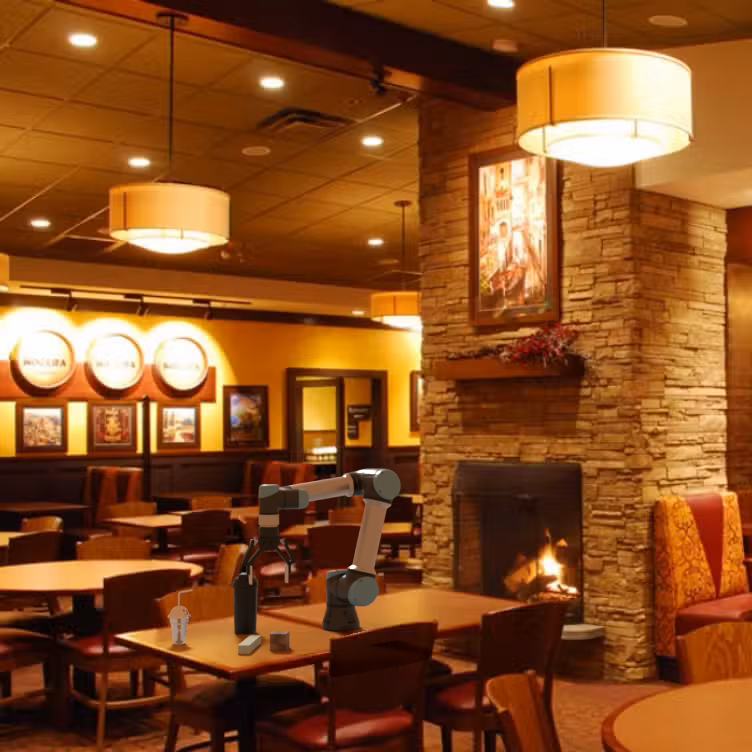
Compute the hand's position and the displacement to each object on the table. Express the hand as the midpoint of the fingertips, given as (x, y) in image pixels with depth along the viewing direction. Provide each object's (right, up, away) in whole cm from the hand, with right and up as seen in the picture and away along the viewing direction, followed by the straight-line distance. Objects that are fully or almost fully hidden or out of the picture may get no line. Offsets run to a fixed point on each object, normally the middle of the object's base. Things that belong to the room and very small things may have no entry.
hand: (268, 583), depth 416 cm
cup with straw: (-33, -22, -1) cm, 40 cm away
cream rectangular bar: (-6, -21, -12) cm, 25 cm away
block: (+5, -21, -13) cm, 26 cm away
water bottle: (-11, -23, +21) cm, 33 cm away
